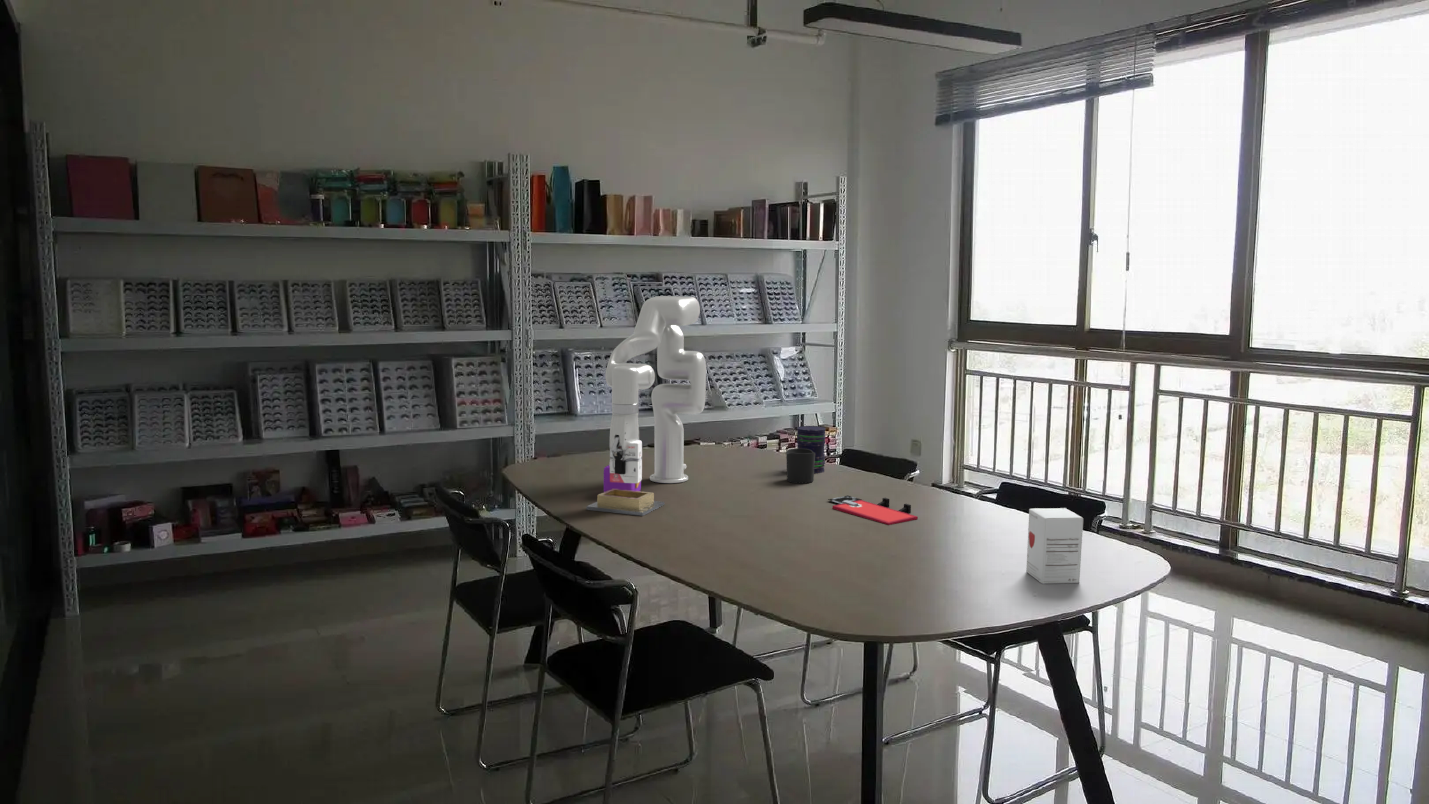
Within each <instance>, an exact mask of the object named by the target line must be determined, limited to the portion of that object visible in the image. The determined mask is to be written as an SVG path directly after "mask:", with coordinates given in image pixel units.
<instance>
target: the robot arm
mask: <svg viewBox="0 0 1429 804" xmlns="http://www.w3.org/2000/svg"><path fill="white" fill-rule="evenodd" d="M700 306H701V305H700V303H699V300H697V298H696V297H694V296H677V295H676V296H673V295H672V296H671V295H660V296H659V295H658V296H653V297H650V298H648V299H647V300H645V301H644V303H643V304H642V306H641V309H640V312H639V315H638V318H637V321H636V325H635V328H634V330H633V333H632V334H631V335H629V336H628V337H627V338H625V339H623V341H621V342H619V344H618V345H616V347H615V348H614V349H613V350H612V352H611V354H610V356H609V360H608V362H607V366H606V369H605V374H604V375H605V376H604V377H605V382H606V384H607V386H609V387H610V388H611V414H612V415H611V420H610V428H609V450H610V449H611V452H612V453H613V456H614V460H615V474H625V473H626V460H624V457H625V451H626V450H627V449H628V448H629V443H631V442H633V441H636V440H640V427H639V425H640V424H639V415H640V414H639V413H640V412H639V390H649V388H651V387H652V386H653V384H655V383H654V382H655V380H656V373H655V370H654V368H652V366H651V365H649V364H646V363H631V362H629V363H628V361H629V360H631V359H633V358H635V357H637V356H640V355H643V354H646V353H649V352H651V351H653V350H656V349H657V350H656V352H657V353H656V354H657V355H656V356H657V357H656V358H657V359H656V360H657V361H656V370H657V375H658V376H659V377H660V378H661V379H664V380H670V381H671V380H672V381H675V380H676V381H689V384H684V383H683V384H680V383H660V384H658V385H656V386H655V387H653V389H652V392H651V397H650V398H651V405H652V410H653V419H654V420H653V421H654V422H653V423H654V433H653V434H654V438H653V439H654V441H653V442H654V444H653V445H654V473H652V474H650V475H649V480H650V482H651V481H652V482H655V483H660V484H678V483H684V482H687V481H688V480H689V476H688V475H687V474H686V473H684V470H686V469H687V467H688V466H687V464H686V463H684V449H685V448H684V446H685V445H684V444H685V443H684V439H685V437H684V436H685V435H684V433H685V432H684V431H685V430H684V424H683V422H682V420H681V418H680V417H679V416H678V415H679V414H683V415H699V414H701V413H703V411H704V409H705V406H706V396H707V395H706V391H707V390H706V389H707V362H706V357H705V356H704V354H703V353H701V352H700V351H697V350H685V347H684V346H685V343H684V342H685V339H684V338H685V335H684V333H683V331H682V329H681V327H684V326H689V325H693V324H695V323H696V322H697V321H698V319H699V317H700V314H701V307H700ZM618 447H622V448H621V449H618ZM620 452H622V454H620Z"/></svg>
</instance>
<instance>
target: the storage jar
mask: <svg viewBox="0 0 1429 804" xmlns="http://www.w3.org/2000/svg"><path fill="white" fill-rule="evenodd" d="M796 429H797V431H796V443H797V449H809V450H812V451H813V452H814V453H815V467H814V474H822V473H824V472H825V464H826V460H825V458H826V457H825V456H826V455H825V445H826V427H824V426H820V425H800V426H797V428H796Z"/></svg>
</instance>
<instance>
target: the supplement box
mask: <svg viewBox="0 0 1429 804" xmlns="http://www.w3.org/2000/svg"><path fill="white" fill-rule="evenodd" d="M1083 528H1084V518H1083V517H1082V516H1080V515H1079V514H1077V513H1075V512H1073V511H1071V510H1070V509H1067V507H1060V508H1058V507H1057V508H1054V507H1053V508H1051V507H1050V508H1044V507H1043V508H1038V507H1037V508H1036V507H1035V508H1029V509H1028V528H1027V530H1028V531H1027V547H1026V548H1027V552H1026V567H1025V568H1026V569H1025V570H1026V571H1025V572H1026V573H1028V574H1029V575H1030V576H1032V577H1033V578H1034V579H1036V580H1037V581H1038V582H1039V583H1040V584H1042V585H1043V584H1045V585H1047V584H1049V585H1050V584H1080V581H1081V580H1080V577H1081V561H1082V545H1083V544H1082V543H1083V532H1084V531H1083V530H1084V529H1083Z"/></svg>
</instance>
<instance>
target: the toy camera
mask: <svg viewBox="0 0 1429 804" xmlns="http://www.w3.org/2000/svg"><path fill="white" fill-rule="evenodd" d="M611 489H622V490H632V491H641V489H642V480H641V481H640V482H639V483H618V482H610V462H609V463H608V465H607V466H605V467H604V468H603V493H604V492H606V491H608V490H611Z"/></svg>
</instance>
